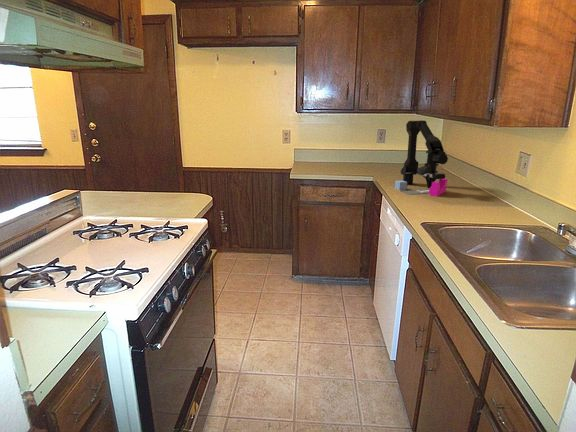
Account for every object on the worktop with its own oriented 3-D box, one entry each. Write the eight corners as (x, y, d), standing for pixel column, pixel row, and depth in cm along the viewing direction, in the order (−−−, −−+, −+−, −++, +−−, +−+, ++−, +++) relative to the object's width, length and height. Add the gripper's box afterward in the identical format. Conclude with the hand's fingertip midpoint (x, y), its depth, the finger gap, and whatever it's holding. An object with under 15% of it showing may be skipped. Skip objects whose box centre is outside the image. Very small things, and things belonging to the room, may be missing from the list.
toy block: (435, 189, 235) (436, 177, 232) (445, 191, 231) (447, 179, 229) (425, 194, 224) (427, 181, 221) (436, 196, 220) (438, 183, 218)
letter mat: (400, 191, 232) (400, 190, 232) (432, 188, 239) (432, 188, 239) (409, 194, 224) (409, 194, 224) (442, 192, 231) (442, 191, 231)
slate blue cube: (394, 188, 238) (395, 180, 237) (401, 188, 240) (402, 180, 239) (399, 190, 234) (400, 182, 232) (406, 190, 235) (407, 181, 234)
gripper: (410, 160, 232) (407, 185, 236) (430, 164, 215) (427, 192, 219) (426, 159, 235) (423, 184, 239) (447, 164, 218) (444, 191, 222)
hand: (428, 188), depth 230 cm, fingers closed
